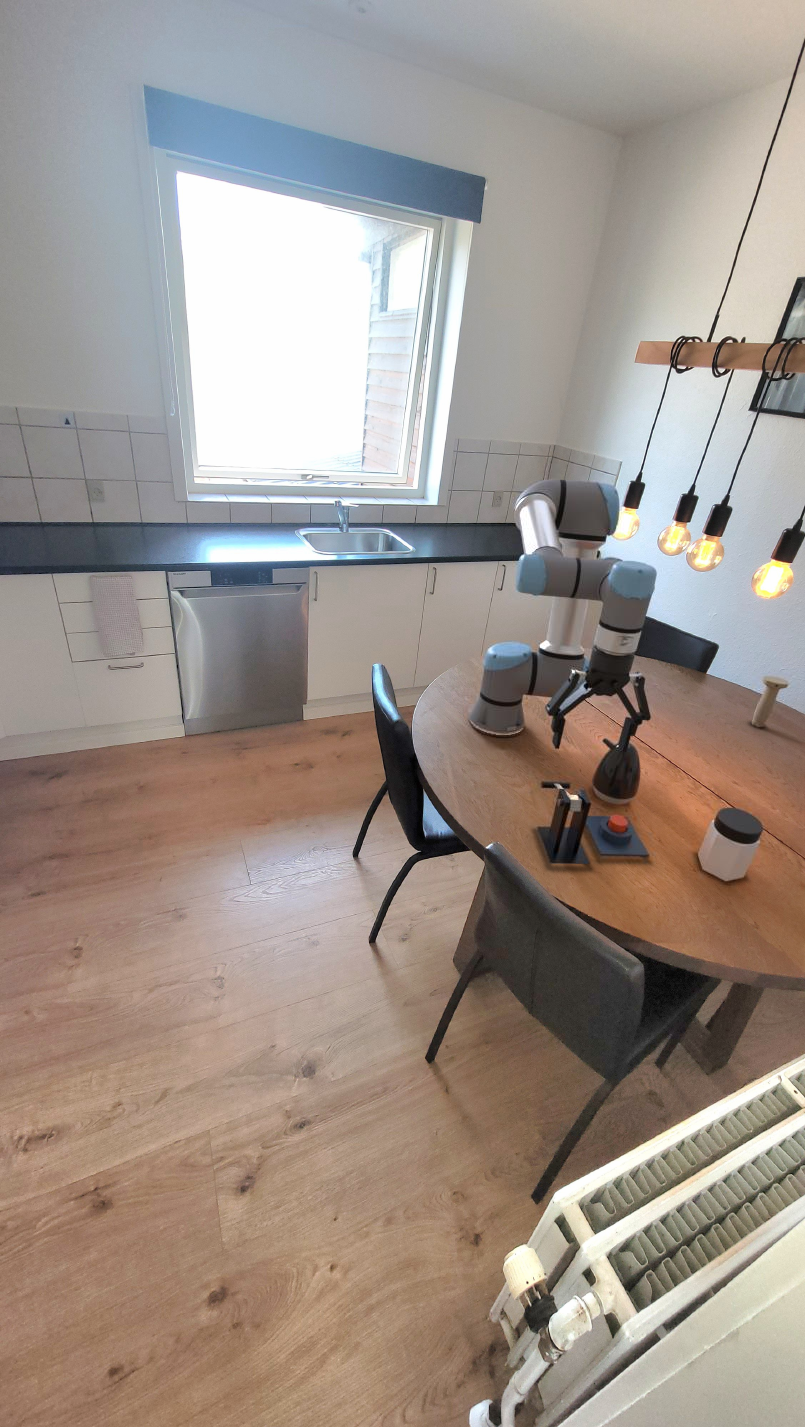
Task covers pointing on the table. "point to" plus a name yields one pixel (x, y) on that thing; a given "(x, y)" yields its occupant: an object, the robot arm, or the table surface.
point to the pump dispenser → (617, 774)
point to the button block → (614, 838)
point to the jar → (730, 844)
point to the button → (618, 823)
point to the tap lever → (574, 799)
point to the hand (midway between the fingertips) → (588, 747)
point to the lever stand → (566, 831)
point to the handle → (768, 699)
